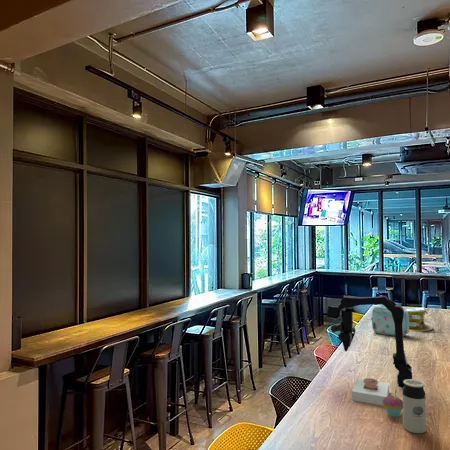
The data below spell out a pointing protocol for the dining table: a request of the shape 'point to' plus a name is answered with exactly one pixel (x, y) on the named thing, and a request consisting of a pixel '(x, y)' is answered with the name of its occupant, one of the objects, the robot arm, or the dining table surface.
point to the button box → (369, 392)
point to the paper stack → (417, 319)
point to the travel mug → (414, 406)
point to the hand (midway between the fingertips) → (347, 349)
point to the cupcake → (393, 405)
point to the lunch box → (387, 321)
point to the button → (370, 383)
